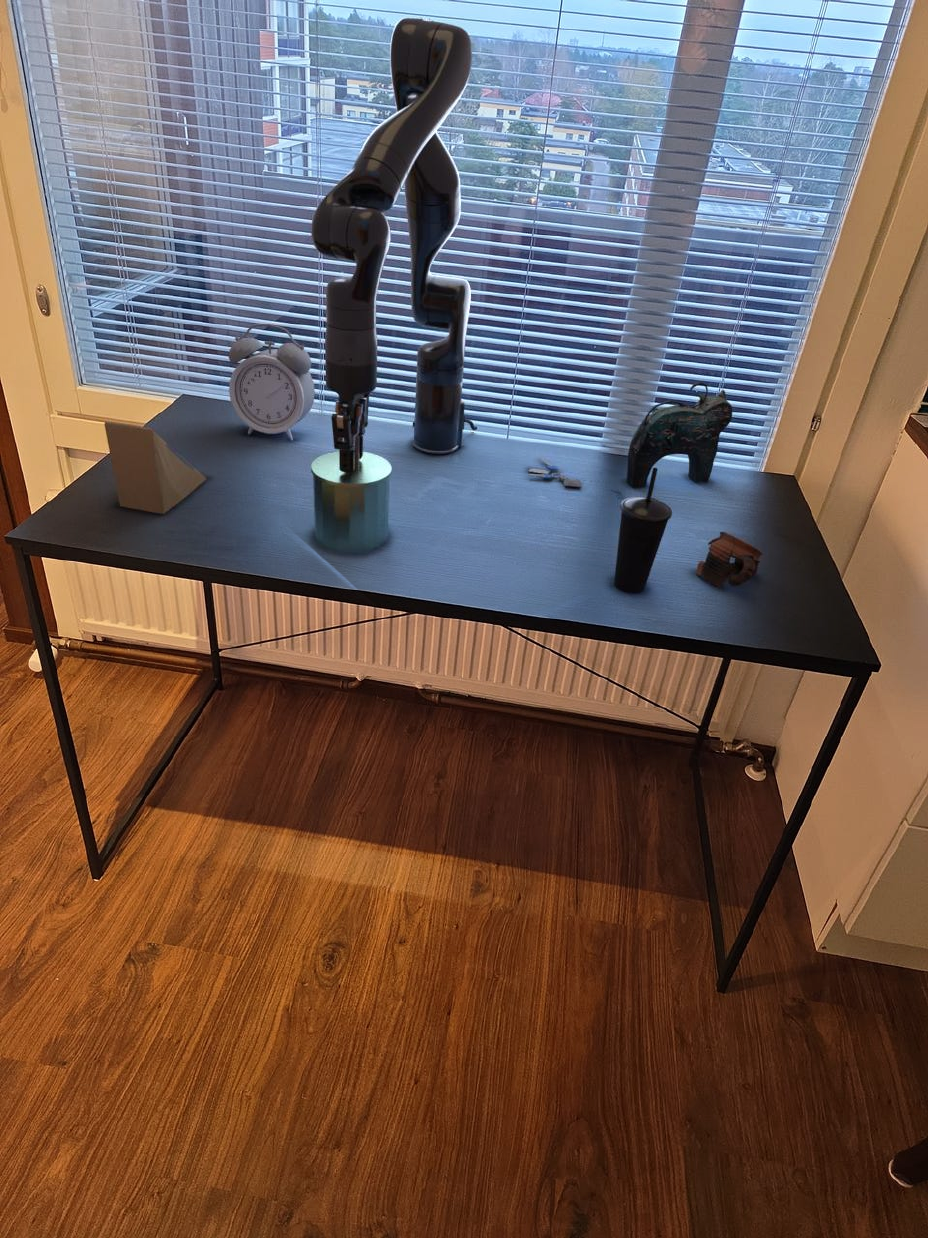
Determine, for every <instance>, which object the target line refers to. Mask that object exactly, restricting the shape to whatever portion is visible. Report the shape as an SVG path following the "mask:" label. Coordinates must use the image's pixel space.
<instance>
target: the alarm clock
mask: <svg viewBox="0 0 928 1238" xmlns="http://www.w3.org/2000/svg"><path fill="white" fill-rule="evenodd" d="M257 327H271V328H276V329H278V330H281V331H283V332H285V333H286V334H287V335H288V336H289V338H290V340H291V342H286V343H282V344H281V345H280V346H279V347H278V348H272V346H275V344H276V343H275V342H274V341H270V340H265V341H264V344H265V345H267V346H268V348H267V349H264V350H262V351H260V350H261V349H263V348H264V346H263V344H262V343H261V342H260V341H259V340H258V339H256V338H255V337H247V336H248V335H249V333H250V331H251V330H252V329H253V328H257ZM234 340H235V342H234V344H232V346H231V347H230V348H229V351H228V359H229V362H230V363H231V365H232V366H233V365H236V364H237V363H238V364H237V366H236V367H235V368H234V370H233V371H232V373H231V377H230V379H229V386H228V393H229V400H230V402H231V406H232V407H233V409H234V412H235V413H236V414H237V416H238V417H239V419H240V420H241V421H242V422H243V423H245V424H246V426H248V427H249V428H248V432H247V434H248V435H251V434H252V433H253V431H257V432H260V433H264V434H268V435H277V434H281V433H285V434H286V436H288V438H289V440H290V441H293V440H294V438H293V435H292V431H291V428H293V427H294V426H295V425H297V424H298V423H299V422H301V421H302V420H303V419H305V418H306V416H307V415H308V414H309V413H310V412H311V410H312V407H313V405H314V402H315V395H316V391H315V384H314V380H313V377H312V375H311V372H310V370H311V367H312V360H311V357H310V355H309V353H308V352H307V350H306V349H305V344H301V345H300V344H299V343H297V341H296V340H295V339H294V338H293V335H292V334H291V333H290V331H289V330H288V329H287V328H284V327H282V326H280V325H276V324H271V323H256V324H252V325H251V326H250V327H249V328H247V330H246V332H245V333H244V335H242V336H240V337H239V336H235V338H234ZM258 351H259V352H258ZM256 352H257V353H256ZM239 362H240V363H239Z"/></svg>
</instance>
